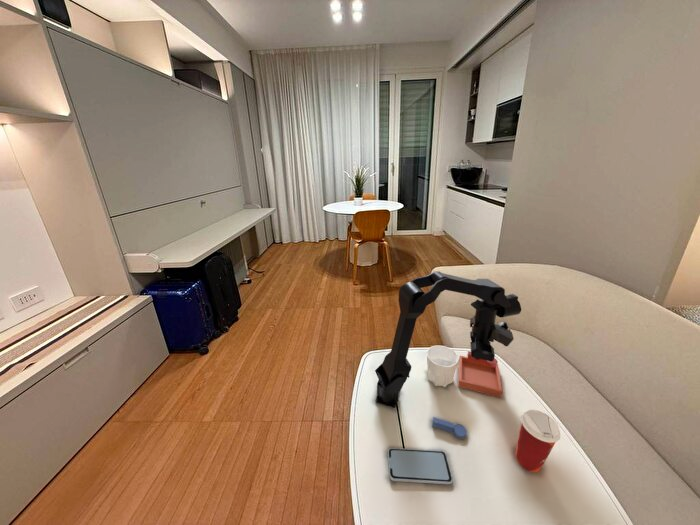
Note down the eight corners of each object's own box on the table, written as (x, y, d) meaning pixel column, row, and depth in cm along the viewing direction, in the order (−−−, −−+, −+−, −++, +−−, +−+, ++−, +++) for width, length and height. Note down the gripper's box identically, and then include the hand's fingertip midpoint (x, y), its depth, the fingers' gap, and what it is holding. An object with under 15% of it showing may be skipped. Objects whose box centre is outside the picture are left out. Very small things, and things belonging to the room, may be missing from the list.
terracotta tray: (458, 386, 89) (459, 380, 88) (458, 360, 100) (459, 355, 99) (500, 397, 84) (502, 391, 83) (496, 369, 95) (497, 363, 94)
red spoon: (467, 361, 89) (468, 356, 88) (467, 354, 92) (468, 349, 91) (497, 368, 86) (498, 363, 85) (496, 360, 89) (497, 355, 88)
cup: (425, 386, 89) (427, 364, 85) (424, 365, 98) (426, 343, 94) (456, 391, 87) (460, 368, 83) (452, 369, 96) (456, 347, 92)
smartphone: (453, 483, 63) (389, 479, 63) (453, 485, 63) (389, 481, 64) (445, 450, 69) (387, 447, 70) (444, 453, 70) (387, 449, 71)
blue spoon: (431, 430, 75) (432, 424, 75) (433, 418, 78) (433, 413, 78) (466, 441, 72) (467, 435, 71) (466, 429, 75) (467, 423, 74)
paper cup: (552, 480, 63) (569, 441, 58) (516, 473, 65) (530, 435, 59) (537, 447, 70) (551, 409, 65) (506, 441, 72) (517, 404, 66)
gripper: (519, 342, 72) (508, 385, 78) (509, 307, 88) (500, 345, 94) (475, 334, 76) (467, 375, 82) (473, 302, 92) (466, 338, 98)
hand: (477, 357), depth 89 cm, fingers closed on red spoon, 1 cm apart
